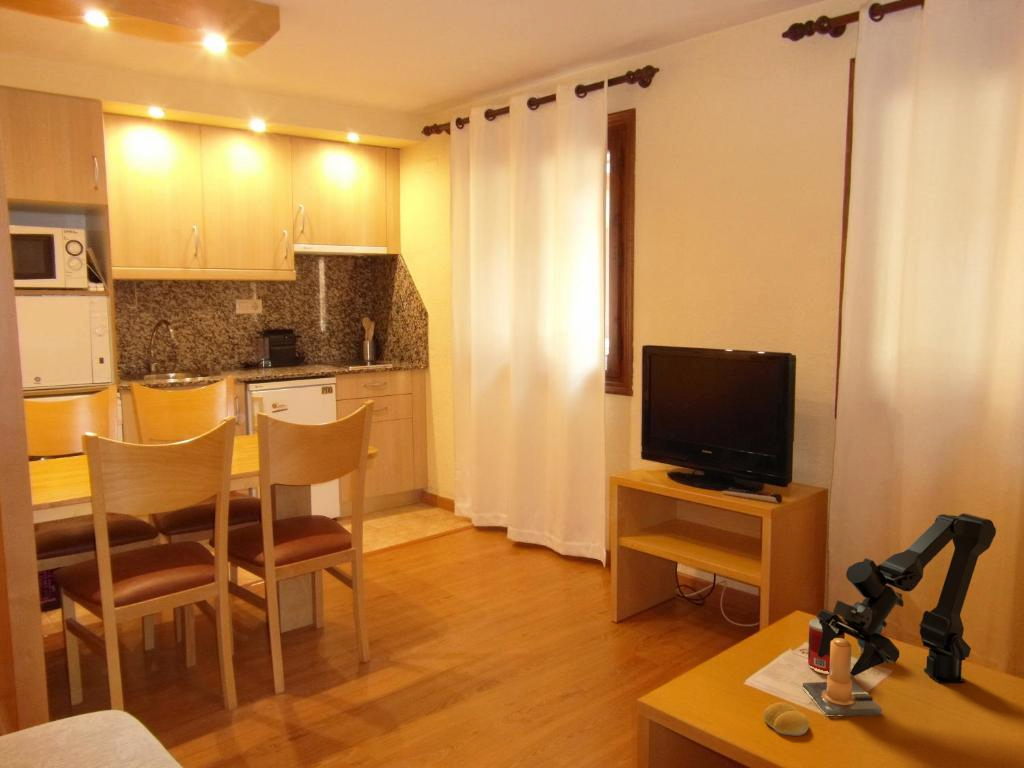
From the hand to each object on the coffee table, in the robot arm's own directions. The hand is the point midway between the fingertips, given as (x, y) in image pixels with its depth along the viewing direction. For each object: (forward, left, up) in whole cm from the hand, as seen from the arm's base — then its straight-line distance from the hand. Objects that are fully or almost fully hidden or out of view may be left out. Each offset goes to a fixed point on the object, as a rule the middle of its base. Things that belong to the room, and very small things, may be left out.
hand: (835, 665), depth 168 cm
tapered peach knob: (-1, 0, -7) cm, 7 cm away
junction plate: (-2, -1, -9) cm, 9 cm away
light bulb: (-19, -24, -9) cm, 32 cm away
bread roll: (+14, +7, -9) cm, 18 cm away
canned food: (-6, -17, -9) cm, 21 cm away
